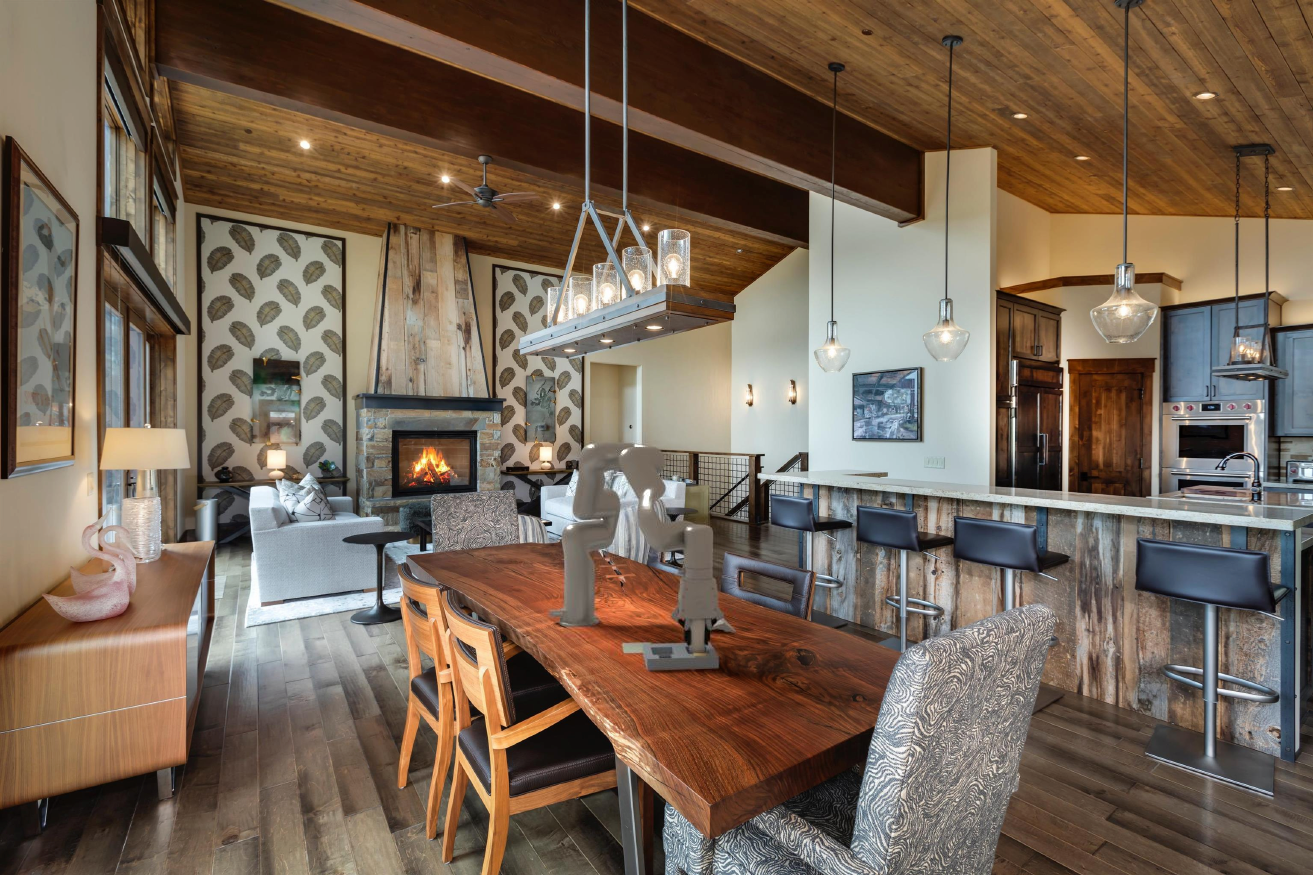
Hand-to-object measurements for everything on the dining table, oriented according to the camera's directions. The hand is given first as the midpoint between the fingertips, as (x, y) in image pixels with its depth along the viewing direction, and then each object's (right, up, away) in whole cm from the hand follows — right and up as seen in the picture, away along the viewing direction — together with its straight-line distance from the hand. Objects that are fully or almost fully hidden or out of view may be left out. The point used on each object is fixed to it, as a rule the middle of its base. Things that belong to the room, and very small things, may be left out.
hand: (696, 643), depth 161 cm
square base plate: (-16, -5, +9) cm, 19 cm away
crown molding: (+5, -6, +41) cm, 42 cm away
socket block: (-4, -6, -1) cm, 7 cm away
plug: (0, -5, 0) cm, 5 cm away
